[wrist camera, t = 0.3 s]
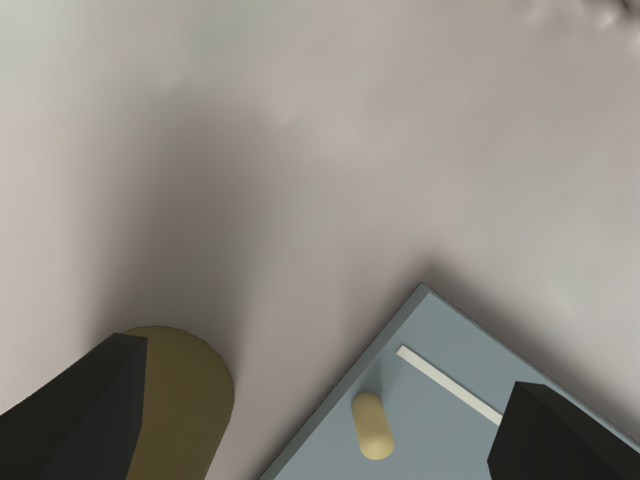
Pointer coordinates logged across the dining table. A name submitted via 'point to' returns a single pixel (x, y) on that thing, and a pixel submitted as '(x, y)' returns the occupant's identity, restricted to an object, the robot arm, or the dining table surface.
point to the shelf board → (416, 403)
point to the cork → (180, 406)
